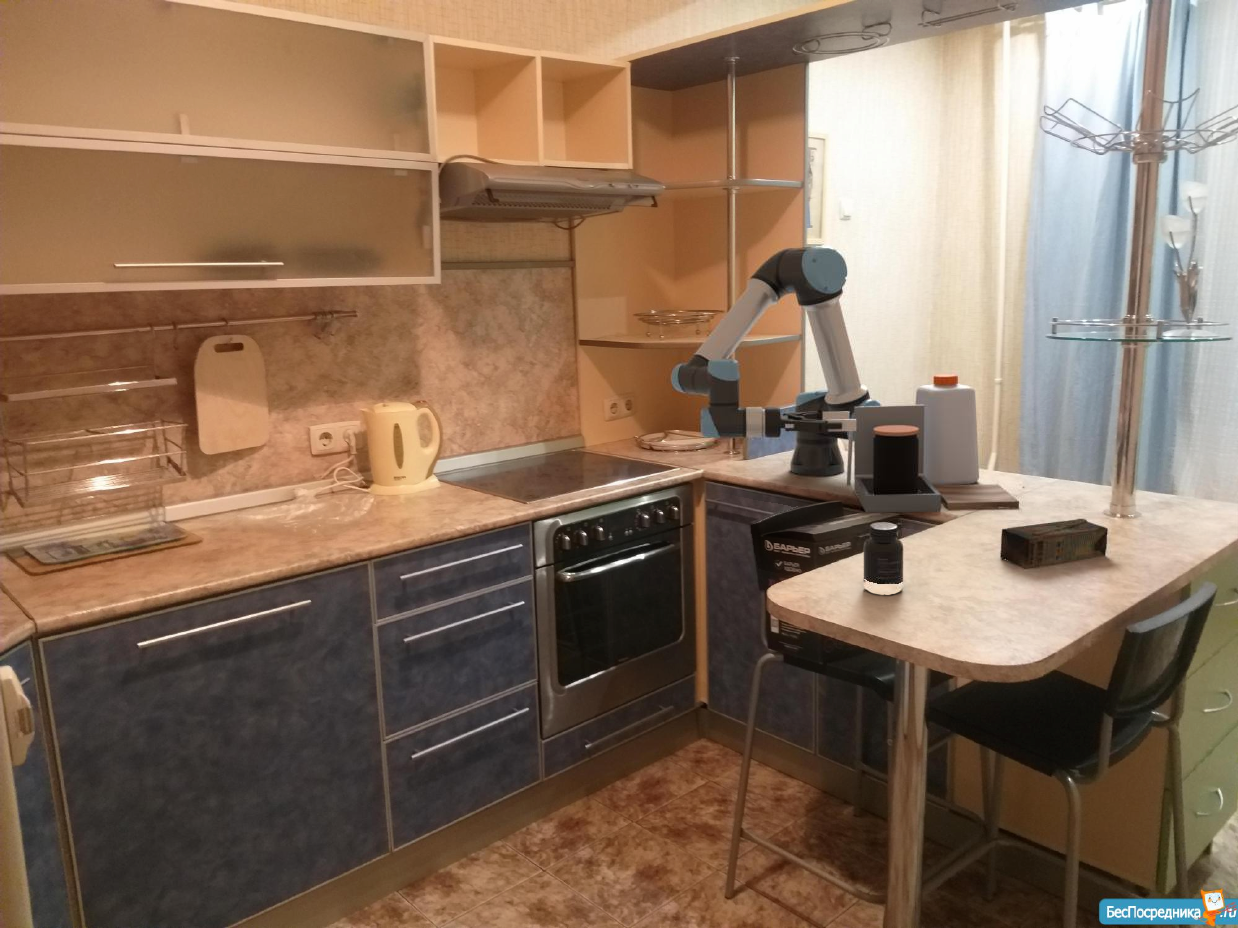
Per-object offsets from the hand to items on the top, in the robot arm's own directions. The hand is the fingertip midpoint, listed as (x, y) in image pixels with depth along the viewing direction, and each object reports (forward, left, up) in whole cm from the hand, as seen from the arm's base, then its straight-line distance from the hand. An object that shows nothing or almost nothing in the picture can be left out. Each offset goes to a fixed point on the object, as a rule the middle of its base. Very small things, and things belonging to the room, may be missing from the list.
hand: (852, 420), depth 226 cm
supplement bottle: (+65, +9, -20) cm, 69 cm away
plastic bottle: (-26, +22, -20) cm, 40 cm away
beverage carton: (+41, +40, -21) cm, 61 cm away
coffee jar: (-2, +10, -20) cm, 23 cm away
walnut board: (-5, +28, -20) cm, 35 cm away
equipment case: (-5, +9, -20) cm, 23 cm away
